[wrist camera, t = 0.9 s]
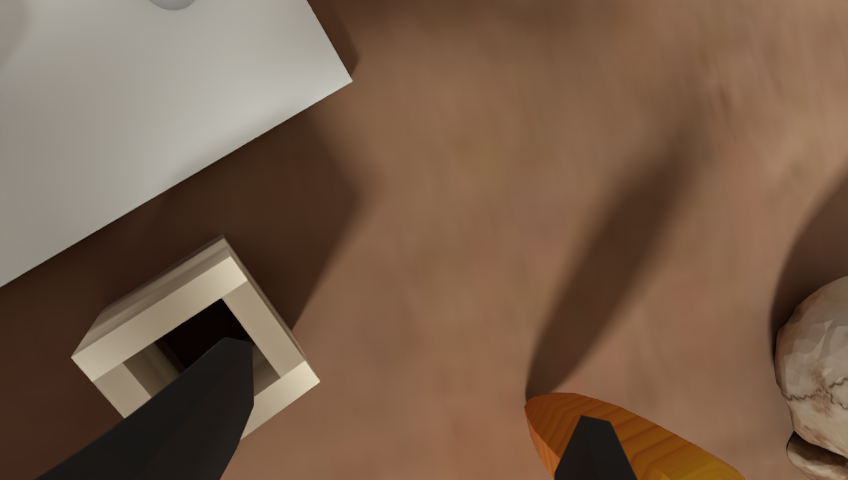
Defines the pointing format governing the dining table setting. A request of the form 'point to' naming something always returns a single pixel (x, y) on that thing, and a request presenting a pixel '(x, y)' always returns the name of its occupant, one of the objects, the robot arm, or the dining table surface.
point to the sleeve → (174, 304)
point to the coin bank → (817, 381)
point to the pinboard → (137, 103)
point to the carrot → (621, 439)
